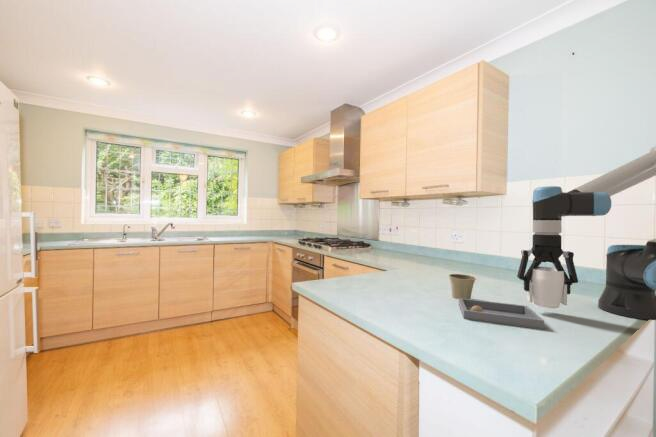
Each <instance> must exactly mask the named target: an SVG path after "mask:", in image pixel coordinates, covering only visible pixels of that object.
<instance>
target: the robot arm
mask: <svg viewBox="0 0 656 437" xmlns="http://www.w3.org/2000/svg"><path fill="white" fill-rule="evenodd" d="M655 176H656V145H654V146H652V148H650V150H649V152H648V153H645V154H643V155H641V156H639V157H638V158H635V159H633V160H631V161H629V162H627V163H625V164H623V165H620V166H619V167H616V168H614V169H612V170H610V171H608V172H606V173H604V174H603V175H600V176H598V177H596V178H594V179H592V180H589V181H587V182H585V183H584V184H581V185H579V186H578V187H576V188H573V189H572V190H569V191H567V192H563V189H562V187H561V186H558V185H556V186H553V185H551V186H548V185H547V186H540V187H539V186H538V187H536V188H534V189H533V192H532V201H531V203H532V233H533V234H532V248H531V249H522V250H521V251H520V252H521V260H520V264H519V267H518V272H517V276H516V277H517V279H519V280H521V281H523V290H524V292H526V300H527V302H528V303H534V300H533V283H532V282H531V281H530V280H531V278H532V274H533V269H537V268H538V267H540V265H541V264H542V263H552V265H553V266H554V268H556V269H557V271H564V285H563V290H562V296H561V301H560V304H562V305H563V306H567V305H568V295H571V286H572V285H573V284H577V283H578V282H579V279H578V275H577V271H576V268H575V263H574V255H575V254H574V252H572V251H566V250H563V249H562V235H561V233H562V231H563V230H562V229H563V228H562V220H563V219H562V218H563V217H596V216H597V217H598V216H606V215H607V214H608V213H609V212H610V211H611V208H612V198H611V197H612V196H615V195H616V194H619V193H622V192H623V191H625V190H627V189H630V188H632V187H634V186H636V185H638V184H640V183H643V182H645V181H646V180H649V179H651V178H653V177H655ZM606 251H607V252H606V254H605V257H606V268H605V271H606V272H605V286H604V289H603V291H602V293H601V295H600V297H599V298H598V303H597V307H598V309H600V310H602V311H606V312H608V313H612V314H615V315H618V316H623V317H626V318H628V317H629V318H631V319H632V318H634V319H639V320H647V321H648V320H649V321H656V238H653V239H649V240H647V242H646V244H612V245H609V246H608V247H607V250H606ZM531 254H532V255H533V256H534V258H533V259H532V263H531V264H530V266H529V267H528V269H527V266H528V262H529V257H530V256H531ZM561 256H563V258H564V261H565V265H566V269H567V270H565V269H564V267H563V266H562V262H561V261H560V259H559V258H560V257H561ZM526 270H527V271H526ZM566 271H567V272H566ZM567 273H568V274H567Z"/></svg>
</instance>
